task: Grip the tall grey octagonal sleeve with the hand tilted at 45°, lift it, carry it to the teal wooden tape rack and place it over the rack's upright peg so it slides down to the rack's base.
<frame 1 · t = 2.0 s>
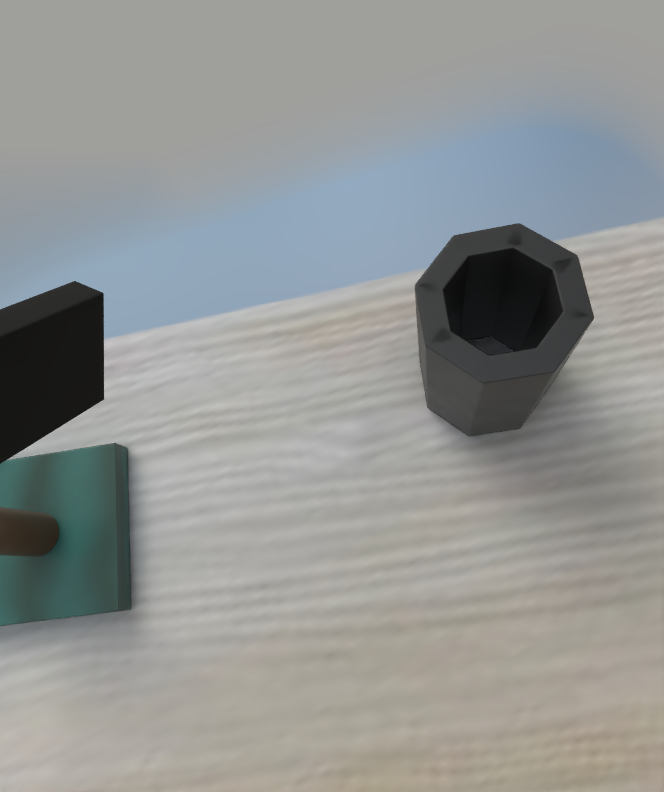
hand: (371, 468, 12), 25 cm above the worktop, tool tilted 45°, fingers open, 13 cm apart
grey octagonal sleeve: (482, 375, 37), on the worktop
tape rack: (55, 535, 39), on the worktop
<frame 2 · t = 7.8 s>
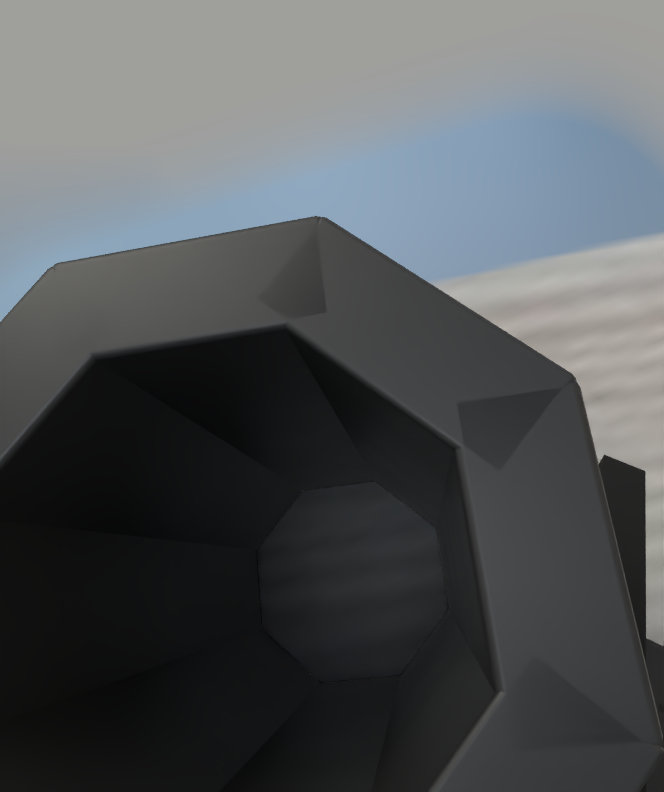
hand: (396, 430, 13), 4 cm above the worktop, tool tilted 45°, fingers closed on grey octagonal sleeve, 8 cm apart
grey octagonal sleeve: (349, 578, 16), on the worktop, touching gripper
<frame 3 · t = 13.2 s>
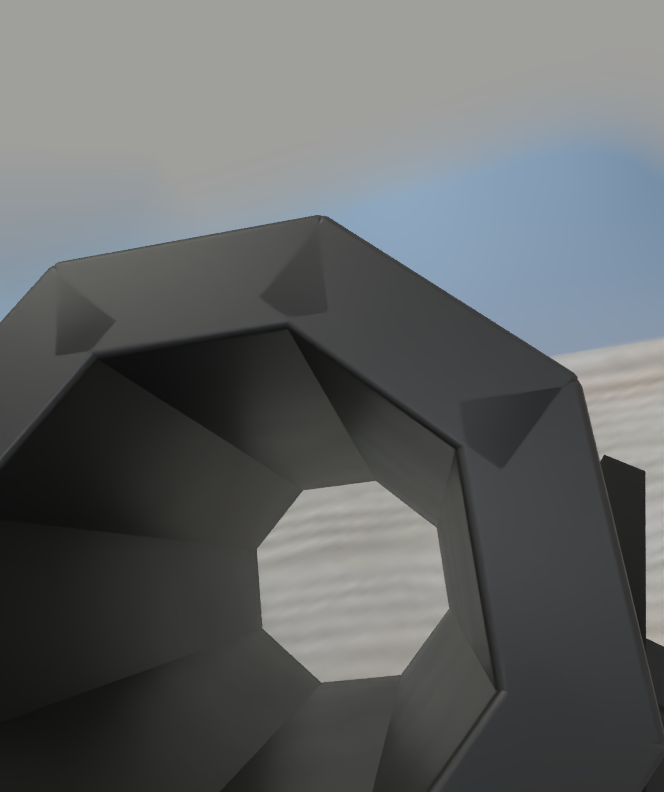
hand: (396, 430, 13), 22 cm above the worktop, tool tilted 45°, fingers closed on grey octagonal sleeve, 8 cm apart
grey octagonal sleeve: (349, 578, 16), point 18 cm above the worktop, touching gripper
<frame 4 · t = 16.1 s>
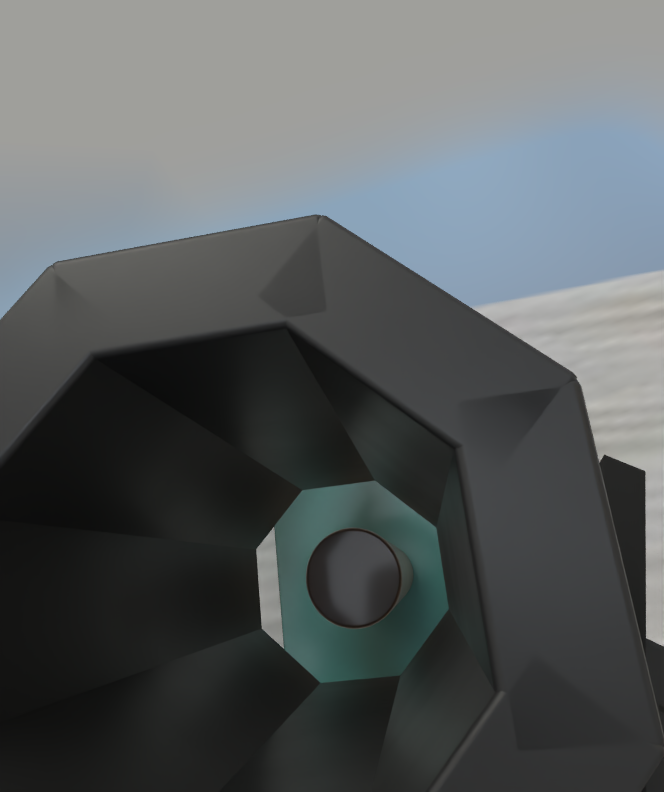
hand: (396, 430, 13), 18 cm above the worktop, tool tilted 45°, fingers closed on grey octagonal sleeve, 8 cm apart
grey octagonal sleeve: (349, 578, 16), point 14 cm above the worktop, touching gripper
tape rack: (387, 573, 30), on the worktop
when the fingers open (10 cm above the worktop, at t = 18.8 s): grey octagonal sleeve drops 5 cm, resting on tape rack.
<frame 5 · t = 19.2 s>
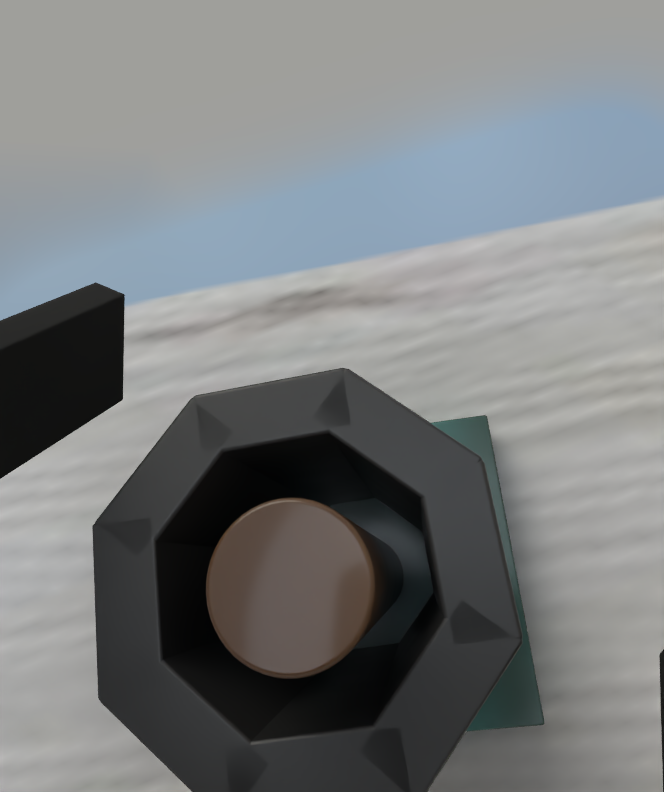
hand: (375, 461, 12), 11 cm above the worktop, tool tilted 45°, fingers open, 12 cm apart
grey octagonal sleeve: (358, 572, 21), point 2 cm above the worktop, touching tape rack
tape rack: (369, 575, 22), on the worktop
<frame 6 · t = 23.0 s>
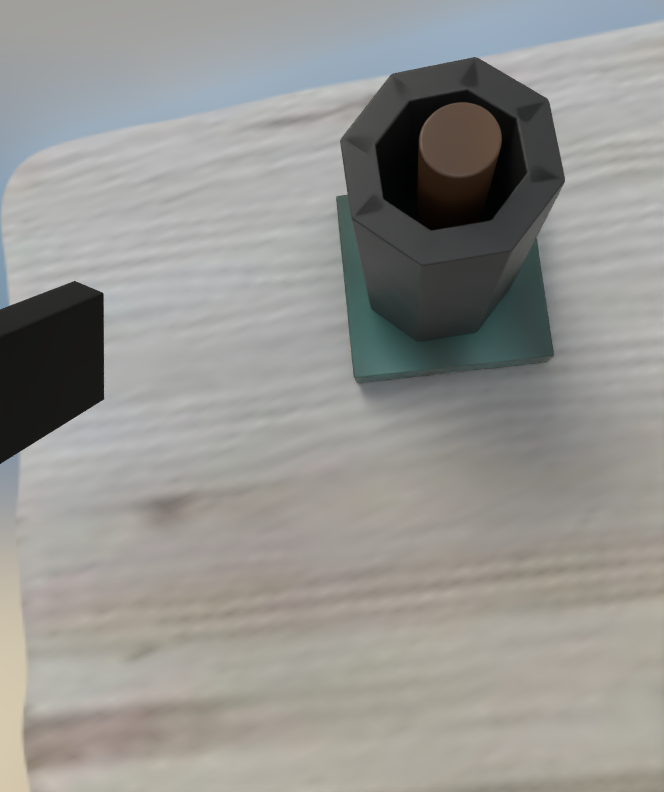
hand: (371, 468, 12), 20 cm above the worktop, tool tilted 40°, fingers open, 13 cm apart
grey octagonal sleeve: (435, 270, 32), point 2 cm above the worktop, touching tape rack
tape rack: (439, 282, 33), on the worktop
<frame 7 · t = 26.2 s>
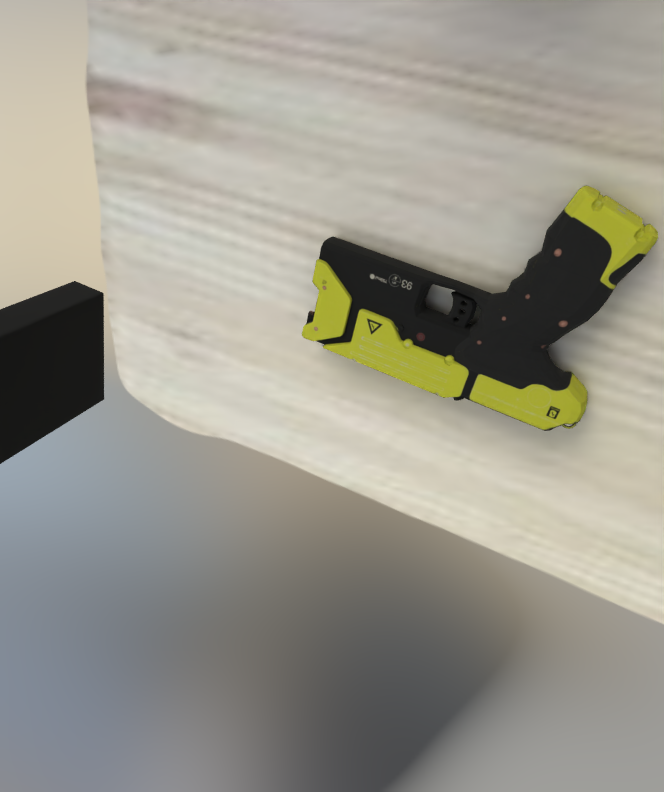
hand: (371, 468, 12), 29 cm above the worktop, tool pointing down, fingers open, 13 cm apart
stun gun: (468, 279, 39), on the worktop
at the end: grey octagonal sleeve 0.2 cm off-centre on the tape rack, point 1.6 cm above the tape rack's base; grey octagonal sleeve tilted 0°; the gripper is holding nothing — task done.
